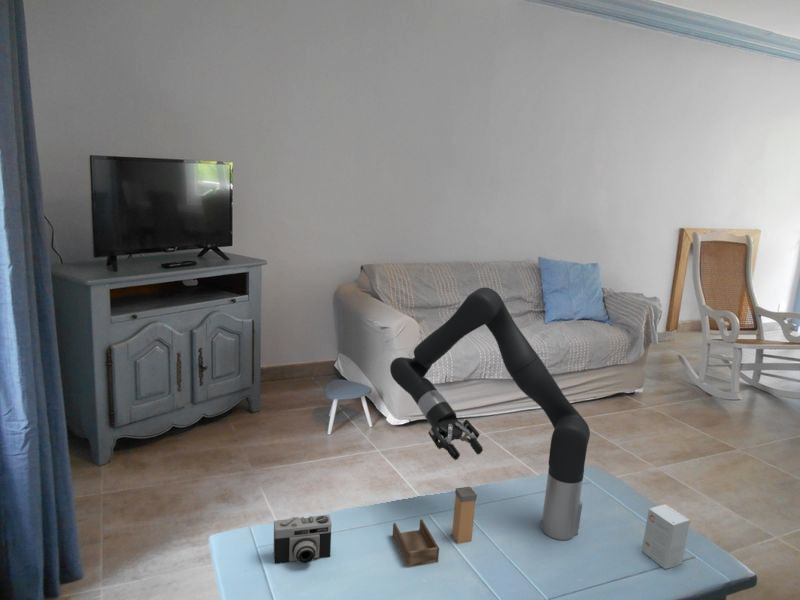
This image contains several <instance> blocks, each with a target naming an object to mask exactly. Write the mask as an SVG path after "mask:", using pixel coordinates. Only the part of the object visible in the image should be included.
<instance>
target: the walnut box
mask: <svg viewBox="0 0 800 600" xmlns="http://www.w3.org/2000/svg"><path fill="white" fill-rule="evenodd" d="M392 539H393V541H394V543H395V545H396V548H397V549H398V551H399V553H400V555H401V557H402V560H403V561H404V563H405V565H406V568H410V567H416V566H422V565H429V564H433V563H434V564H436V563H439V557H440V556H439V554H440V547H439V545H438V544H437V542H436V540H435V539H434V537H433V535H432V533H431V532H430V530H429V529H428V526H427V525H426V523H425V522H424V520H423V519H419V529H418V530H411V531H405V532H404V531H403V532H401V531H400V530H399V527H398V526H397V524H396V522H393V523H392Z"/></svg>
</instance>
